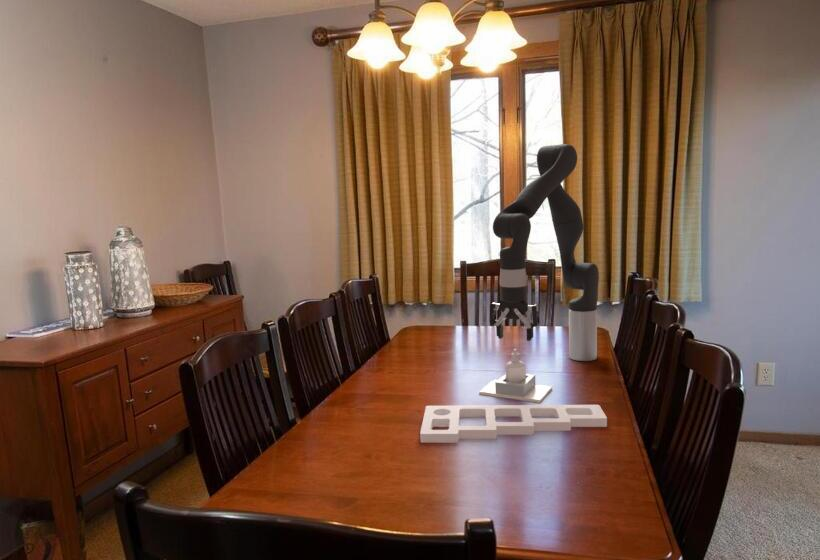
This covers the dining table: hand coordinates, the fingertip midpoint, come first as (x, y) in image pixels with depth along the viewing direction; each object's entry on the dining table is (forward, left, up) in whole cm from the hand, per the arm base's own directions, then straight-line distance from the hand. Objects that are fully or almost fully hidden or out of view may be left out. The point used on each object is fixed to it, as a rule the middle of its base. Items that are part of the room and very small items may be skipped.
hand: (514, 339), depth 158 cm
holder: (+24, +8, -17) cm, 30 cm away
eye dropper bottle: (0, 0, -15) cm, 15 cm away
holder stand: (0, 0, -16) cm, 16 cm away
